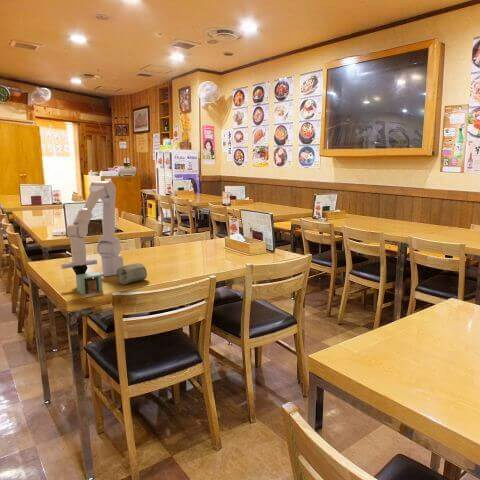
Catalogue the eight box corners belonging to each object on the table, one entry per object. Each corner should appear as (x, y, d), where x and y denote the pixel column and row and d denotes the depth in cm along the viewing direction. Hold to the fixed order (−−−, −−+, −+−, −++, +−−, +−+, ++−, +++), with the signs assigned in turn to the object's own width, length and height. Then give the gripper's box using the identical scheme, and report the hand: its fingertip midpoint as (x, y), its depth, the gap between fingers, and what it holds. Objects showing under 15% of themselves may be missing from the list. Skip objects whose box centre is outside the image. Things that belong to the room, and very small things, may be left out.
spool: (122, 280, 170) (121, 258, 173) (112, 286, 176) (112, 265, 180) (151, 282, 179) (150, 261, 182) (141, 288, 185) (140, 267, 189)
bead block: (97, 287, 172) (96, 271, 171) (102, 290, 167) (101, 274, 166) (77, 291, 167) (75, 275, 166) (81, 294, 162) (80, 277, 161)
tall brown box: (86, 285, 176) (85, 274, 175) (96, 292, 165) (96, 280, 165) (79, 286, 174) (78, 275, 173) (88, 293, 164) (88, 281, 163)
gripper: (63, 255, 166) (65, 287, 168) (98, 251, 175) (100, 281, 177) (58, 252, 172) (61, 284, 174) (93, 248, 180) (95, 278, 183)
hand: (80, 282), depth 176 cm, fingers closed, pressing on tall brown box
